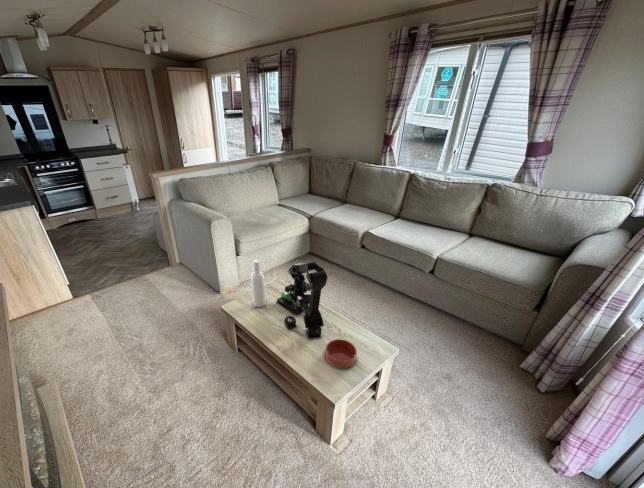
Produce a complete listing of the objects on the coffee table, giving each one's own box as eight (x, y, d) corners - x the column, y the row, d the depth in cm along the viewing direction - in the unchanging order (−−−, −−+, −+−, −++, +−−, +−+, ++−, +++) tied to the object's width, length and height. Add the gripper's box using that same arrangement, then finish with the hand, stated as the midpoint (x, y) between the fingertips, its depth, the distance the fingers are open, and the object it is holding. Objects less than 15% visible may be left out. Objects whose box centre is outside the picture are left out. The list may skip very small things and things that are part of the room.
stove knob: (303, 306, 176) (303, 300, 173) (298, 309, 174) (298, 303, 171) (299, 303, 178) (299, 297, 176) (294, 306, 176) (294, 300, 174)
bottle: (251, 307, 181) (247, 264, 165) (254, 299, 188) (250, 257, 172) (264, 308, 180) (261, 265, 164) (266, 300, 186) (264, 258, 171)
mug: (281, 326, 165) (281, 316, 161) (289, 321, 169) (289, 311, 165) (297, 337, 157) (297, 327, 153) (305, 332, 161) (305, 321, 157)
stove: (309, 309, 177) (309, 305, 176) (297, 316, 172) (297, 312, 171) (289, 295, 189) (288, 292, 188) (277, 302, 184) (276, 298, 183)
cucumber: (290, 303, 179) (290, 298, 177) (280, 296, 185) (280, 292, 183) (294, 300, 180) (294, 296, 178) (284, 294, 186) (284, 289, 184)
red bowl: (329, 370, 139) (329, 362, 136) (322, 347, 151) (323, 340, 148) (359, 367, 139) (360, 360, 137) (350, 345, 151) (351, 338, 149)
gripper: (321, 284, 166) (320, 306, 174) (297, 271, 178) (297, 293, 186) (307, 292, 160) (306, 315, 168) (283, 278, 172) (284, 300, 180)
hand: (298, 305), depth 176 cm, fingers closed on stove knob, 4 cm apart
